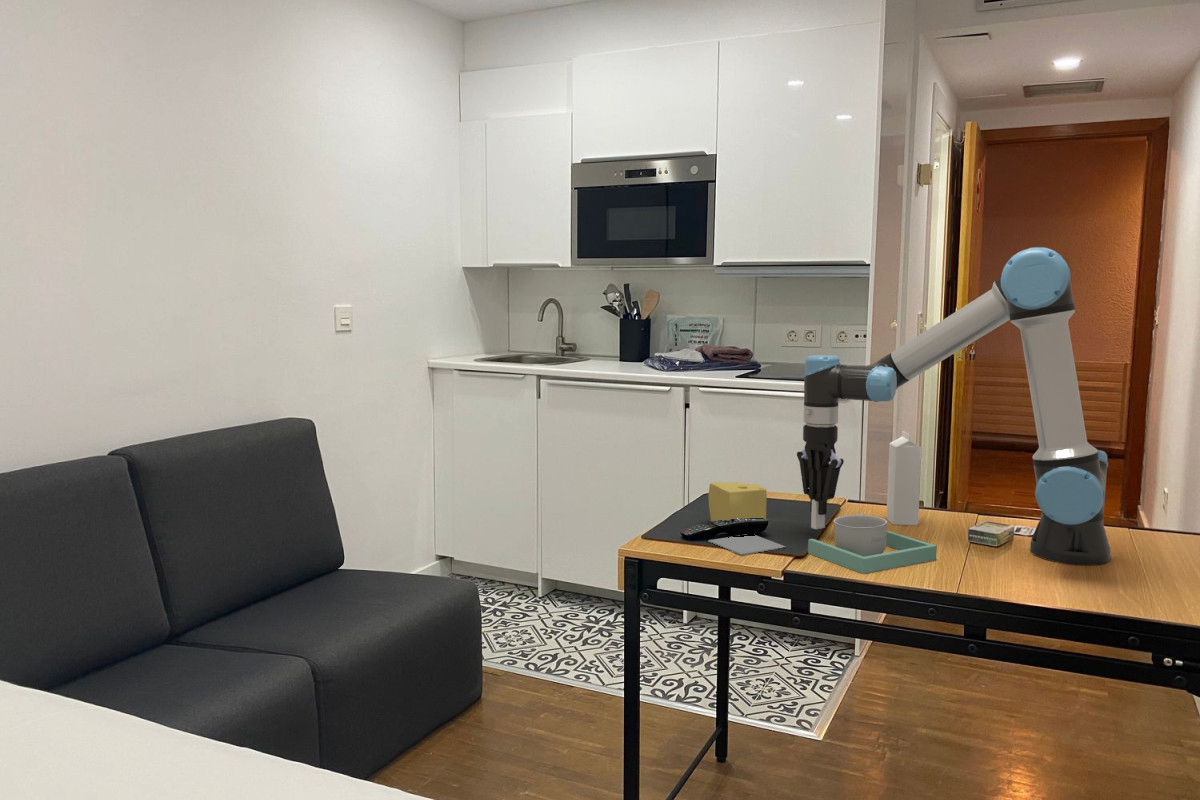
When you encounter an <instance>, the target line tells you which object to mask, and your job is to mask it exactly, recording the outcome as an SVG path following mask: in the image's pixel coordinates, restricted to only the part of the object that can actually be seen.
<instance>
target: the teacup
mask: <svg viewBox="0 0 1200 800" xmlns="http://www.w3.org/2000/svg"><path fill="white" fill-rule="evenodd" d="M832 522H833V525H834V526H833V528H834V529H833V530H834V543H835V547H838V548H841V549H843V550H846V551H849V552H852V553H855V554H858V555H860V556H863V557H865V556H871V555H876V554H882V553H884V551H885V550H886V548H887V546H886V543H887V531H888V527H887V525H888V520H887V519H885V518H883V517H880V516H876V515H869V514H865V513H858V514H849V515H848V514H847V515H842V516H839V517H836V518H834V519H833V521H832Z"/></svg>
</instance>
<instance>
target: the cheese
mask: <svg viewBox="0 0 1200 800" xmlns="http://www.w3.org/2000/svg"><path fill="white" fill-rule="evenodd" d="M767 501H768V499H767V488H764V487H762V486H761V485H759V484H756V483H741V482H734V481H732V482H731V481H729V482H728V481H715V482H710V483H709V489H708V508H709V510H708V511H709V517H710V522H711V521H718V520H730V519H737V518H752V517H754V518H764V519H766V520H767Z"/></svg>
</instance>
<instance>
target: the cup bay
mask: <svg viewBox="0 0 1200 800" xmlns="http://www.w3.org/2000/svg"><path fill="white" fill-rule="evenodd" d="M807 542H808V543H807V554H809V555H812V556H814V557H817V558H820V559H823V560H825V561H828V562H831V563H833V564H836V565H838V566H842V567H844V568H846V569H850V570H852V571H855V572H857V573H860V574H863V575H864V574H868V573H869V574H870V573H873V572H881V571H884V570H885V571H886V570H890V569H895V568H896V569H897V568H900V567H907V566H910V565H916V564H922V563H926V562H927V563H928V562H933V561H936V560H937V553H938V552H937V551H938V549H937V548H938V546H937V545H935V544H933V543H929V542H925V541H922V540H920V539H915V538H913V537H909V536H907V535H903V534H900V533H897V532H893V531H890V530H887V543H886V547H889V548H892V549H896V550H895V551H894V550H893V551H888V552H883V553H881V554H876V555H871V556H865V557H863V556H860V555H858V554H855V553H852V552H849V551H846V550H843V549H841V548H838V547H836V545H832V544H828V543H826V542H824V541H820V540H817V539H816V538H815V539H814V538H808V541H807Z"/></svg>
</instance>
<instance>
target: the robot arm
mask: <svg viewBox="0 0 1200 800" xmlns="http://www.w3.org/2000/svg"><path fill="white" fill-rule="evenodd" d="M1072 279H1073V273H1072V269H1071V266H1070V264H1069V262H1068V261H1067V260H1066V258H1064V256H1062V255H1061V254H1059V253H1058V252H1057V251H1055V250H1053V249H1051V248H1048V247H1042V246H1036V247H1029V248H1026V249H1022V250H1021V251H1019V252H1017V253H1015V254H1013V255H1012V256H1011V257H1010V259H1008V261H1007V262H1006V263H1005V265H1004V266H1003V269H1002V271H1001V277H999V278H998V279H996V280H995V281H994V282H992V283H993V284H992V287H991V289H990V290H987V291H986V292H984V293H983V294H981V295H980V296H978V297H976V298H975V299H974V300H972V301H970V302H968V303H967V304H965V306H962V307H961V308H959V309H958V310H956V311H955V312H953V313H951V314H950V315H948V316H947V317H945V318H944V319H942V320H940V321H939V322H937V323H936V324H934V325H933V326H931V327H929V328H928V329H926V330H925V331H923V332H922V333H920V334H919V335H917V336H916V337H914V338H912V339H910V340H909V341H908V342H905V343H904V344H903V345H901V346H899V347H898V348H897V349H895V350H893V351H892V352H891V353H889V354H887V355H884V356H883V357H882V358H880V359H879V360H877V361H876V362H874V363H871V364H868V365H845V364H841V362H840V357H839V356H838V355H828V354H827V355H826V354H818V355H816V354H815V355H809V356H807V358H806V359H805V362H804V363H805V364H804V365H805V366H804V375H803V381H804V382H803V389H804V390H803V423H805V424H804V425H803V429H802V440H803V442H805V444H804V449H803V450H801V451H797V452H796V457H797V459H798V463H799V467H800V474H801V475H800V476H801V482H802V491H803V494H804V495H807V496H808V498H809V499H810V500H809V501H810V502H809V503H810V504H809V505H810V506H809V509H810V513H811V517H810V518H811V519H810V520H811V521H810V523H811V524H810V525H811V526H810V528H811V529H814V530H819V529H824V528H826V515H827V511H828V510H827V509H828V508H827V506H828V500H832V499H835V496H836V491H837V486H838V481H839V477H840V471H841V468H842V466H843V465H844V462H845V461H844V458H840V457H838V456H837V454H836V448H835V444H836V443H837V442H838V435H839V433H838V432H839V429H838V426H837V424H838V423H839V400H852V401H865V402H866V401H868V402H874V403H879V402H891V401H893V399H894V398H895V396H896V393H897V390H898V389H899V388H900V387H902V386H903V385H905V384H906V383H908V382H909V381H911V380H913V379H915V378H916V377H918V376H919V375H921V374H922V373H924V372H927V370H930V369H931V368H933V367H935V366H936V365H937V364H939V363H941V362H942V361H944V360H946V359H947V358H949V357H951V356H952V355H954V354H955V353H956V354H957V352H960V350H963V349H964V348H966V347H967V346H969V345H970V344H973V343H974V342H975V341H977V340H979V339H980V338H983V336H986V335H988V334H989V333H990V332H992V331H994V330H995V329H997V328H999V327H1000V326H1002V325H1003V324H1006V323H1007V322H1009V321H1010V323H1011V324H1013V325H1014V326H1016V327H1017V328H1018V329H1019V331H1020V336H1021V337H1020V338H1021V343H1022V349H1023V357H1024V361H1025V368H1026V369H1025V370H1026V375H1027V379H1028V386H1029V392H1030V398H1031V405H1032V411H1033V416H1034V423H1035V428H1036V429H1035V431H1036V436H1037V440H1038V441H1037V442H1038V449H1037V450H1036V451H1035V453H1034V454H1033V455H1032V463H1033V469H1034V476H1035V482H1036V483H1035V484H1036V486H1035V491H1034V497H1035V500H1036V504H1037V506H1038V507H1039V509H1040V510H1041V516H1040V519H1039V521H1038V523H1037V525H1036V528H1035V530H1034V532H1033V535H1032V537H1031V539H1030V548H1029V551H1030V553H1032V554H1033V555H1034V556H1036V557H1039V558H1041V559H1045V560H1048V561H1052V562H1057V563H1062V564H1068V565H1069V564H1071V565H1078V566H1079V565H1081V566H1096V565H1103V564H1108V563H1109V562H1110V561H1111V553H1112V552H1111V546H1110V544H1109V540H1108V536H1107V533H1106V532H1107V531H1106V529H1105V524H1104V515H1105V513H1104V512H1105V499H1106V489H1107V488H1106V486H1107V485H1106V484H1107V474H1108V473H1107V472H1108V467H1109V462H1108V454H1107V452H1105V451H1103V450H1099V449H1097V448H1096V447H1094V446H1093V445H1092V444H1090V443H1089V442H1088V438H1087V431H1086V427H1085V421H1084V420H1085V419H1084V413H1083V408H1082V401H1081V395H1080V389H1079V387H1080V386H1079V383H1078V375H1077V369H1076V363H1075V358H1074V357H1075V356H1074V350H1073V345H1072V339H1071V331H1070V327H1069V320H1070V319H1071V318H1072V317H1073V315H1074V314H1075V312H1076V308H1075V303H1074V301H1075V300H1074V295H1073V289H1072V288H1073V287H1072V282H1073V281H1072Z"/></svg>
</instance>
